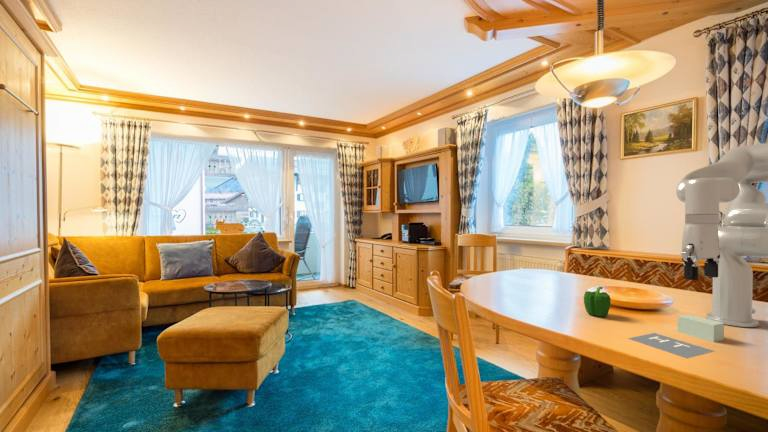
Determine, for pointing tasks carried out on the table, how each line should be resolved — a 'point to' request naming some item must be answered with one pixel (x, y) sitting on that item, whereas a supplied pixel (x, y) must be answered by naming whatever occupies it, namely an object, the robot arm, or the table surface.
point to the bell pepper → (597, 302)
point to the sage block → (701, 328)
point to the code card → (671, 345)
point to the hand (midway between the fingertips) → (701, 278)
